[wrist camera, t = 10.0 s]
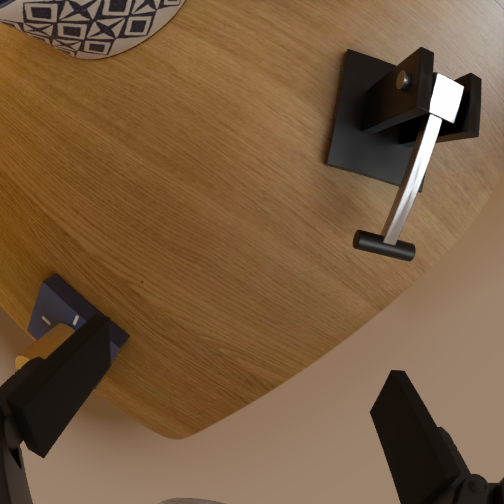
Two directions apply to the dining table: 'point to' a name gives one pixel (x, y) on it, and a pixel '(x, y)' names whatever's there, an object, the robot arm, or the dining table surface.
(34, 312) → the valve plate
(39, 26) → the planter
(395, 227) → the faucet lever
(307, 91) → the dining table surface
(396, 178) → the black angular piece
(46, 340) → the valve knob
